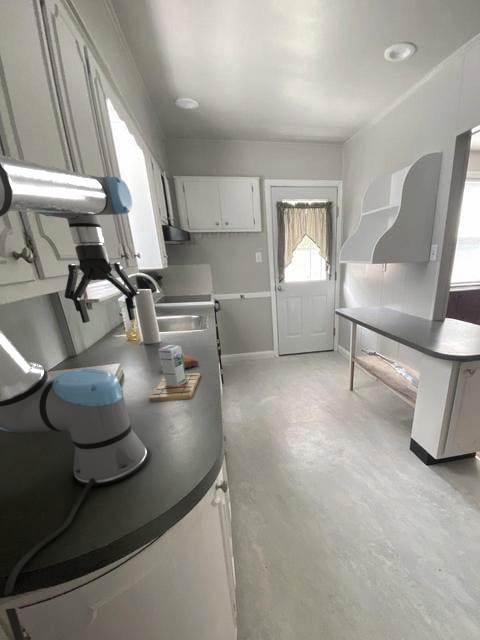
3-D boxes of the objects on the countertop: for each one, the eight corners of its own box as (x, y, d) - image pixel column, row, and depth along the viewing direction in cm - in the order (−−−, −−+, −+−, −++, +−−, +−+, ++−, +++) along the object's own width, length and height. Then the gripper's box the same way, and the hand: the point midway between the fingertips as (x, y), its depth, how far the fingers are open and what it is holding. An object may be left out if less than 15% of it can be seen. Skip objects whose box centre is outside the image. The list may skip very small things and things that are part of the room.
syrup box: (178, 387, 113) (171, 349, 107) (165, 385, 114) (157, 348, 109) (187, 381, 118) (181, 345, 112) (175, 380, 119) (168, 344, 114)
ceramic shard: (149, 358, 135) (177, 354, 148) (151, 372, 136) (179, 367, 149) (170, 358, 127) (198, 354, 140) (172, 373, 129) (199, 368, 141)
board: (190, 398, 107) (190, 394, 106) (150, 401, 106) (149, 397, 105) (200, 376, 127) (199, 372, 127) (165, 378, 126) (165, 375, 125)
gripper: (140, 244, 90) (154, 316, 98) (50, 247, 87) (73, 320, 96) (131, 243, 83) (147, 320, 91) (33, 246, 81) (59, 325, 89)
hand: (109, 320), depth 93 cm, fingers open, 13 cm apart
